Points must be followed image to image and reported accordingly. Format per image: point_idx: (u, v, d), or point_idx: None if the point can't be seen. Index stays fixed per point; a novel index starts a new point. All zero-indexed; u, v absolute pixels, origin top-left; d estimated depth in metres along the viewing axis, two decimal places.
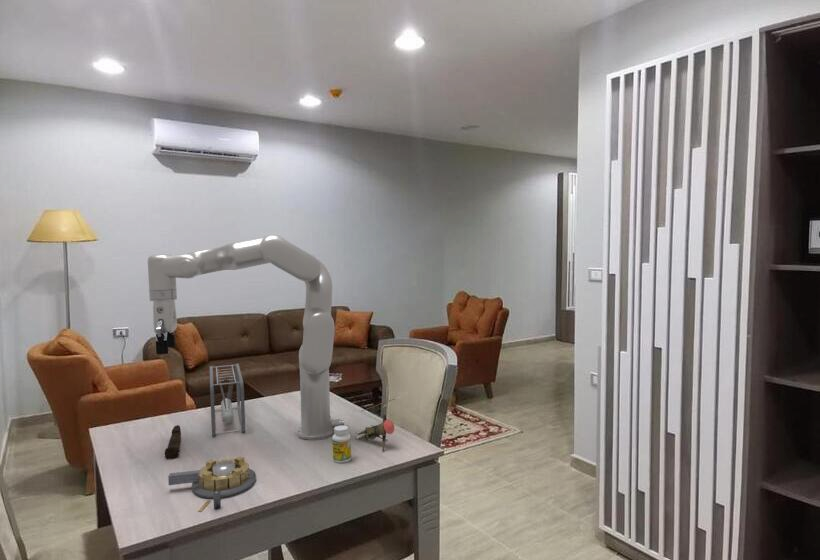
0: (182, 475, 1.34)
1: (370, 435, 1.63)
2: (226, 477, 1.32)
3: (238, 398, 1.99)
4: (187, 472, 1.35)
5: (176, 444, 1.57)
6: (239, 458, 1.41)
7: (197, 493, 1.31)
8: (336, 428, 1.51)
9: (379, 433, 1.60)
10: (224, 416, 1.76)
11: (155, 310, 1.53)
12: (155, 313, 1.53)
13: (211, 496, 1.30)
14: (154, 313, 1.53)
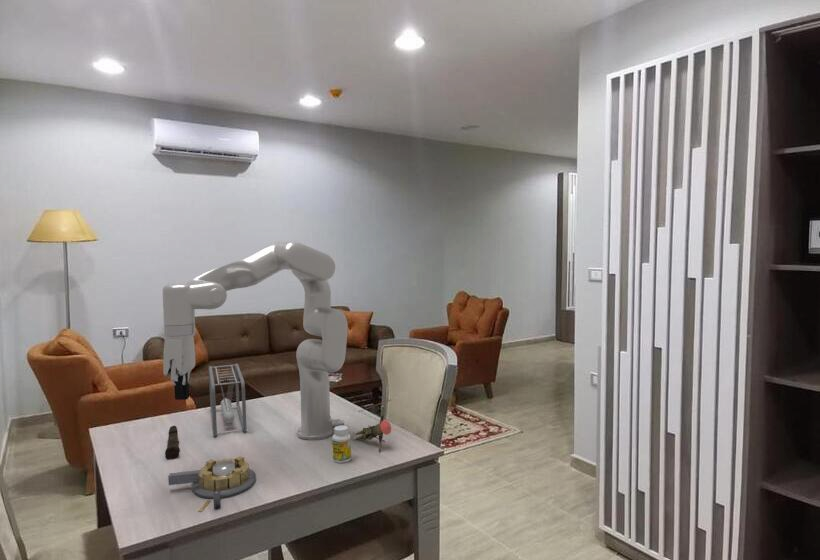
0: (182, 475, 1.34)
1: (367, 435, 1.63)
2: (226, 477, 1.32)
3: (237, 398, 1.99)
4: (187, 472, 1.35)
5: (176, 444, 1.57)
6: (239, 458, 1.41)
7: (197, 493, 1.31)
8: (336, 428, 1.51)
9: (376, 434, 1.60)
10: (225, 416, 1.76)
11: None
12: None
13: (211, 496, 1.30)
14: None
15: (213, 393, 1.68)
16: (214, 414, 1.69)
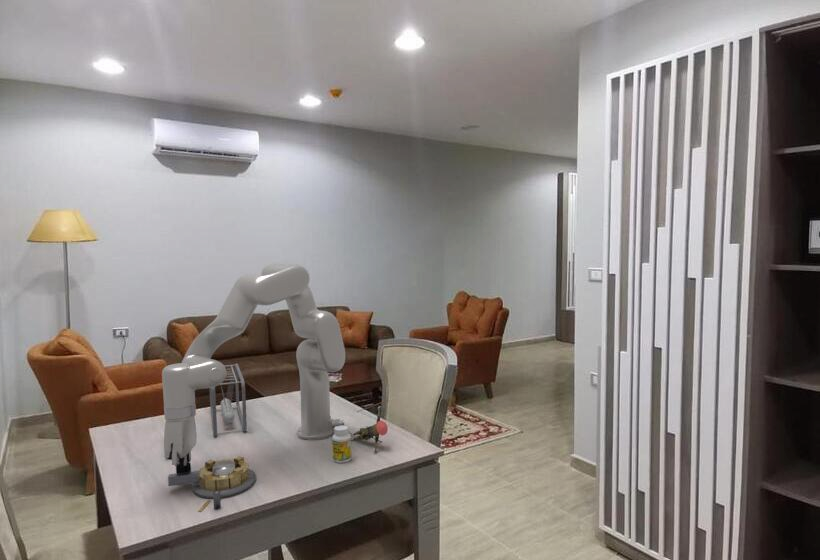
0: (182, 476, 1.34)
1: (364, 436, 1.62)
2: (227, 477, 1.32)
3: (237, 398, 1.99)
4: (187, 473, 1.35)
5: None
6: (238, 458, 1.42)
7: (197, 493, 1.31)
8: (336, 428, 1.51)
9: (372, 434, 1.59)
10: (225, 416, 1.76)
11: None
12: None
13: (211, 496, 1.30)
14: None
15: (213, 393, 1.68)
16: (214, 414, 1.69)
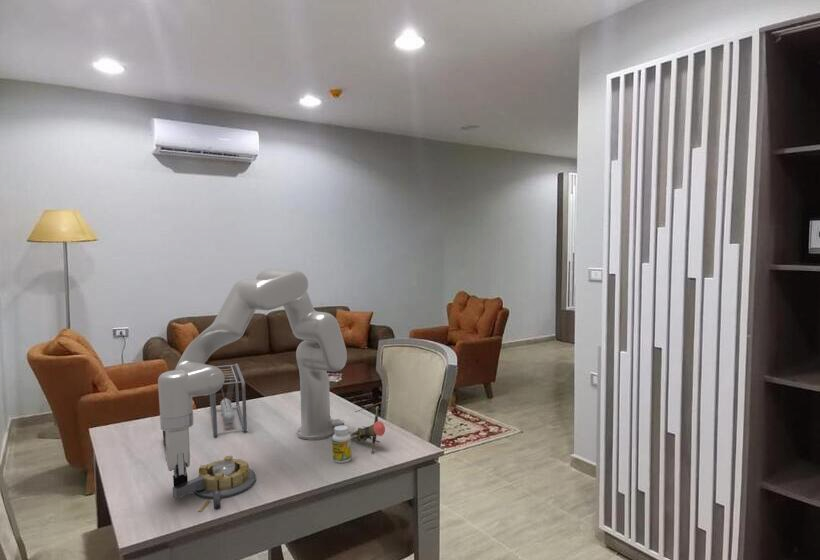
0: (189, 484, 1.29)
1: (362, 436, 1.62)
2: (239, 472, 1.35)
3: (237, 398, 1.99)
4: (191, 481, 1.30)
5: None
6: (228, 457, 1.42)
7: (197, 493, 1.31)
8: (336, 428, 1.51)
9: (370, 435, 1.59)
10: (225, 416, 1.76)
11: None
12: None
13: (211, 496, 1.30)
14: None
15: (213, 393, 1.68)
16: (214, 414, 1.69)
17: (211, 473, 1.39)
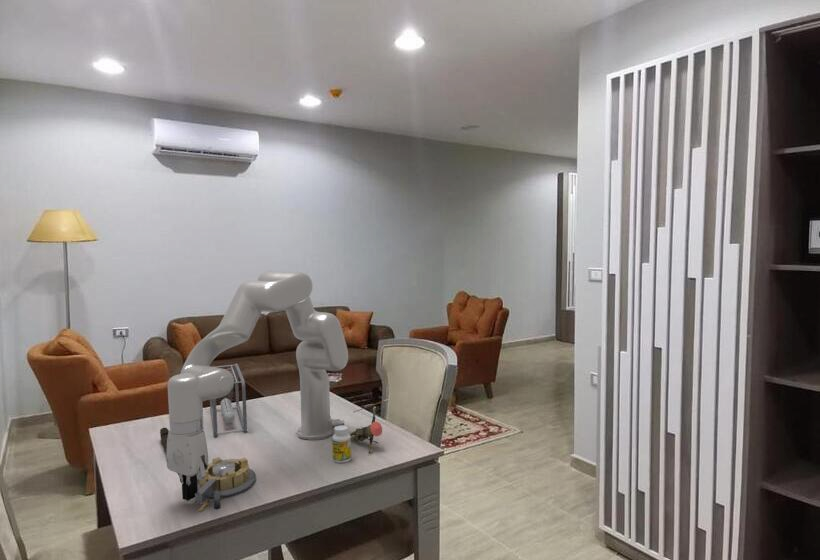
0: (208, 487, 1.27)
1: (359, 437, 1.62)
2: (245, 467, 1.38)
3: (237, 398, 1.99)
4: (206, 484, 1.28)
5: None
6: (217, 459, 1.41)
7: None
8: (336, 428, 1.51)
9: (367, 435, 1.59)
10: (225, 416, 1.76)
11: None
12: None
13: (211, 496, 1.30)
14: None
15: None
16: (215, 414, 1.69)
17: None
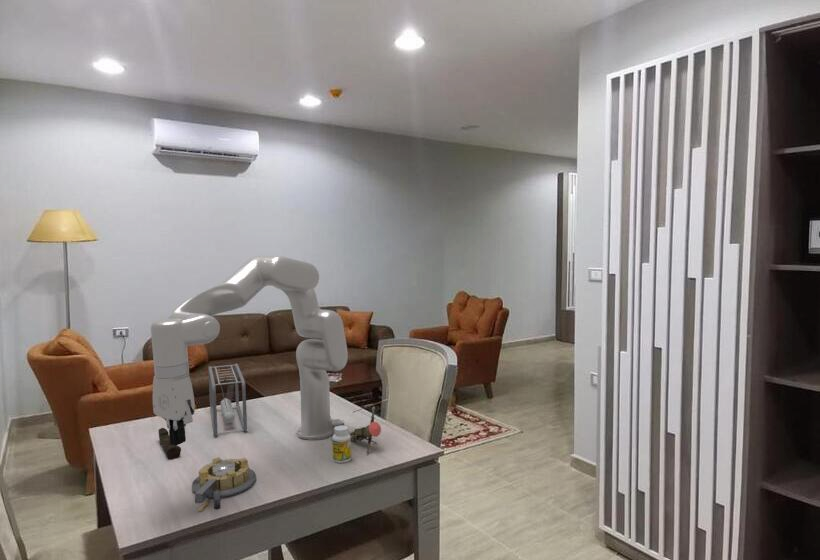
0: (208, 487, 1.27)
1: (358, 437, 1.62)
2: (245, 467, 1.38)
3: (237, 398, 1.99)
4: (206, 484, 1.28)
5: None
6: (217, 459, 1.41)
7: None
8: (336, 428, 1.51)
9: (365, 435, 1.59)
10: (225, 416, 1.76)
11: None
12: None
13: (211, 496, 1.30)
14: None
15: (214, 393, 1.68)
16: (215, 414, 1.69)
17: None
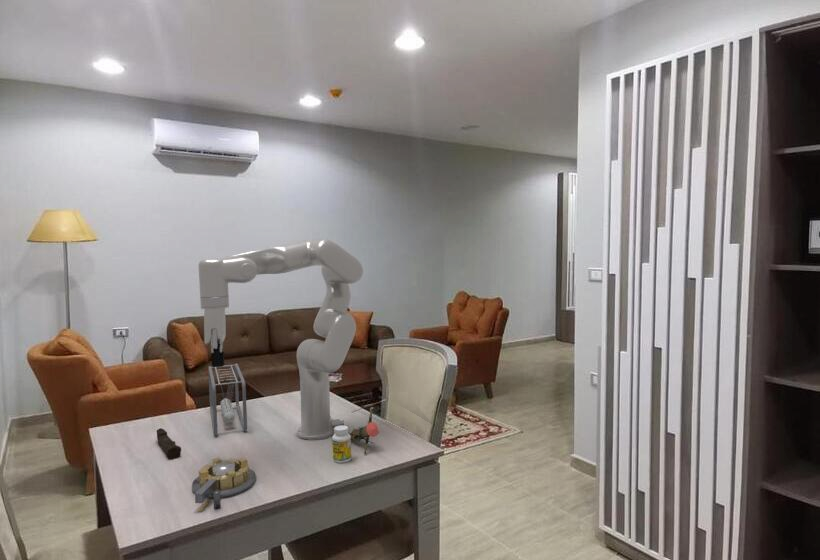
0: (208, 487, 1.27)
1: (356, 437, 1.62)
2: (245, 467, 1.38)
3: (237, 398, 1.99)
4: (206, 484, 1.28)
5: (175, 444, 1.57)
6: (217, 459, 1.41)
7: None
8: (336, 428, 1.51)
9: (363, 435, 1.59)
10: (225, 416, 1.76)
11: None
12: None
13: (211, 496, 1.30)
14: None
15: (214, 393, 1.68)
16: (215, 414, 1.69)
17: None
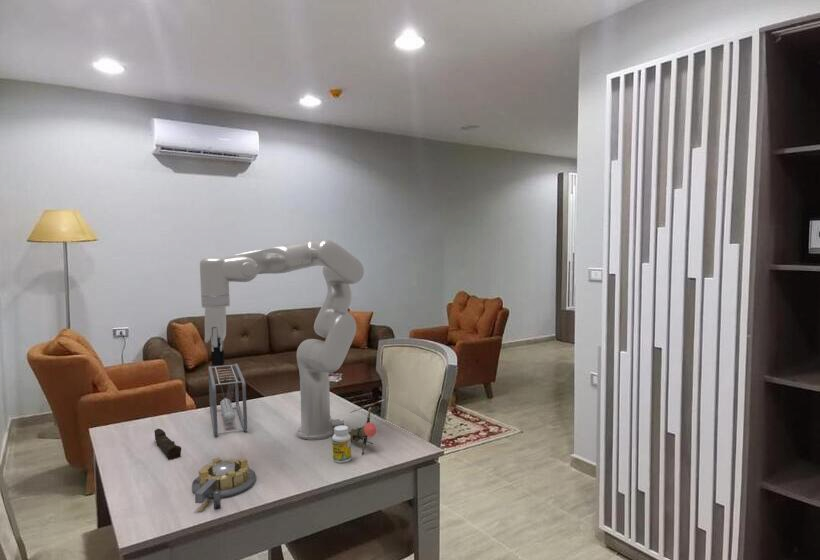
0: (208, 487, 1.27)
1: (354, 437, 1.62)
2: (245, 467, 1.38)
3: (237, 398, 1.99)
4: (206, 484, 1.28)
5: (174, 444, 1.57)
6: (217, 459, 1.41)
7: None
8: (336, 428, 1.51)
9: (361, 436, 1.58)
10: (225, 416, 1.76)
11: None
12: None
13: (211, 496, 1.30)
14: None
15: (214, 393, 1.68)
16: (215, 414, 1.69)
17: None
